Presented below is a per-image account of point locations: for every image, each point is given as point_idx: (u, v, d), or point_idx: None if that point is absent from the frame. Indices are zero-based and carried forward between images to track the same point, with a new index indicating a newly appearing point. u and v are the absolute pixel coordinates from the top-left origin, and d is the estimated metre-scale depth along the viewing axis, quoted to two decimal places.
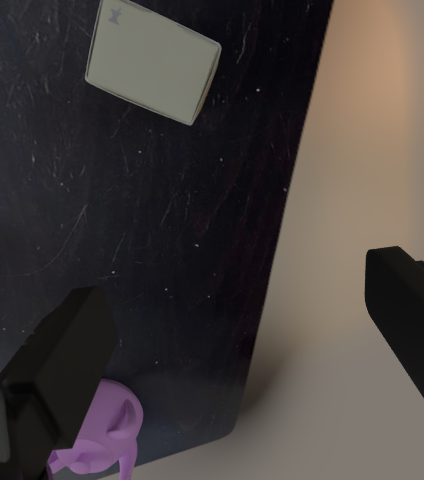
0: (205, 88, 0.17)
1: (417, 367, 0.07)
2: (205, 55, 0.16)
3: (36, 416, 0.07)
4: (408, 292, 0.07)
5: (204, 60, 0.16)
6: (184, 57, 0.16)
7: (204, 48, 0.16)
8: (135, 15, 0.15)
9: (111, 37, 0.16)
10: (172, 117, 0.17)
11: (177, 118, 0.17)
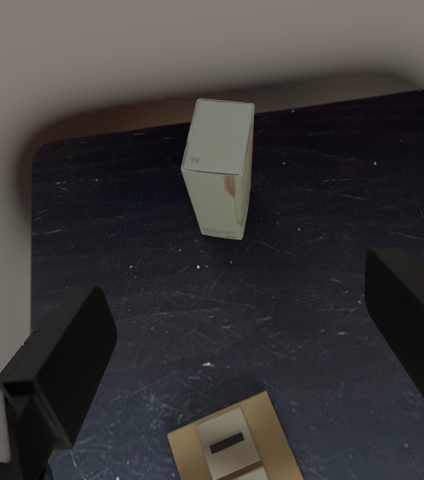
0: (226, 101, 0.23)
1: (417, 367, 0.07)
2: (205, 104, 0.23)
3: (36, 416, 0.07)
4: (408, 292, 0.07)
5: (208, 104, 0.23)
6: (209, 116, 0.22)
7: (201, 106, 0.23)
8: (191, 148, 0.22)
9: (208, 160, 0.21)
10: (252, 116, 0.22)
11: (251, 113, 0.22)
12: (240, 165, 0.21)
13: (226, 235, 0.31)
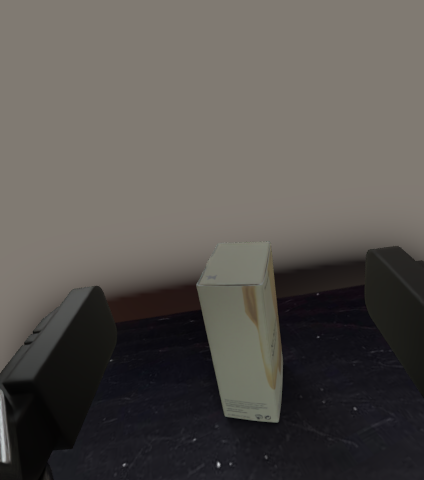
0: (244, 242, 0.24)
1: (418, 368, 0.07)
2: (224, 245, 0.24)
3: (35, 416, 0.07)
4: (408, 292, 0.07)
5: (227, 244, 0.24)
6: (228, 250, 0.23)
7: (221, 246, 0.24)
8: (209, 270, 0.21)
9: (225, 276, 0.20)
10: (269, 248, 0.23)
11: (268, 246, 0.23)
12: (259, 277, 0.19)
13: (256, 413, 0.23)
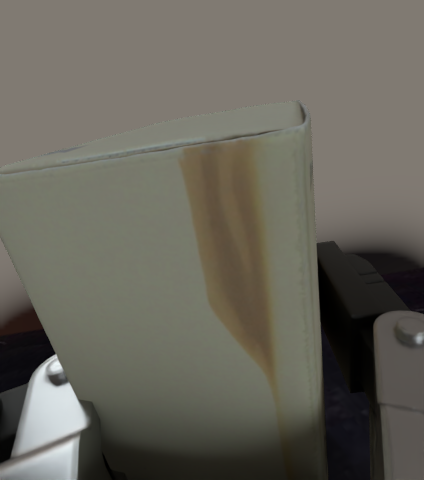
0: None
1: (338, 348, 0.08)
2: None
3: None
4: (329, 281, 0.08)
5: (176, 119, 0.09)
6: (172, 121, 0.08)
7: (157, 123, 0.09)
8: None
9: (118, 141, 0.04)
10: (299, 105, 0.07)
11: (297, 103, 0.07)
12: (281, 122, 0.04)
13: None
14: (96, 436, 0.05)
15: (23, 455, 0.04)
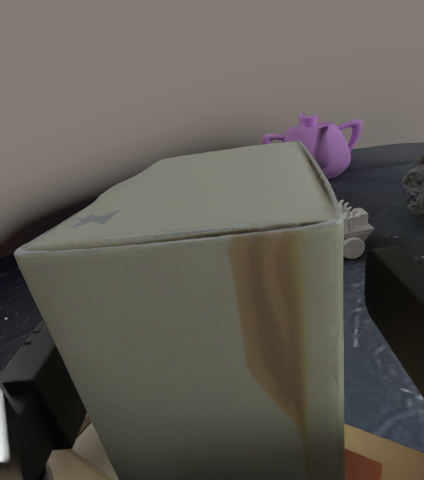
0: None
1: (418, 368, 0.07)
2: (173, 158, 0.09)
3: (36, 416, 0.07)
4: (408, 292, 0.07)
5: (181, 157, 0.09)
6: (181, 163, 0.08)
7: (163, 161, 0.09)
8: (99, 202, 0.06)
9: (152, 211, 0.05)
10: (303, 149, 0.08)
11: (299, 146, 0.08)
12: (311, 200, 0.04)
13: None
14: (16, 470, 0.05)
15: None
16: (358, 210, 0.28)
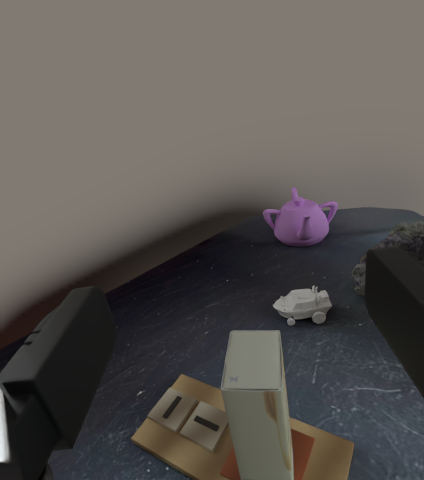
0: (255, 330, 0.27)
1: (417, 367, 0.07)
2: (238, 334, 0.27)
3: (35, 417, 0.07)
4: (408, 292, 0.07)
5: (240, 334, 0.27)
6: (242, 342, 0.26)
7: (234, 335, 0.27)
8: (229, 369, 0.23)
9: (246, 378, 0.22)
10: (279, 340, 0.25)
11: (278, 337, 0.26)
12: (277, 380, 0.22)
13: None
14: (16, 470, 0.05)
15: None
16: (323, 292, 0.46)
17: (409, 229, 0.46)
